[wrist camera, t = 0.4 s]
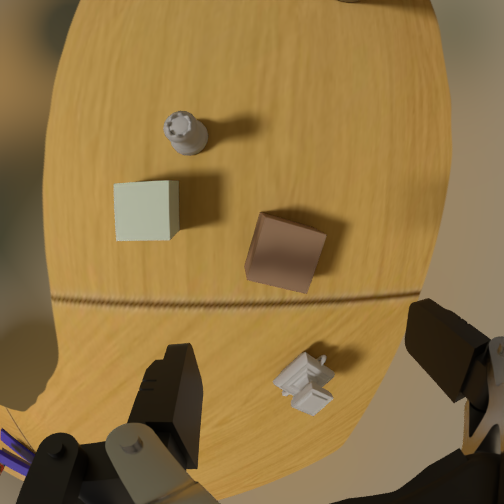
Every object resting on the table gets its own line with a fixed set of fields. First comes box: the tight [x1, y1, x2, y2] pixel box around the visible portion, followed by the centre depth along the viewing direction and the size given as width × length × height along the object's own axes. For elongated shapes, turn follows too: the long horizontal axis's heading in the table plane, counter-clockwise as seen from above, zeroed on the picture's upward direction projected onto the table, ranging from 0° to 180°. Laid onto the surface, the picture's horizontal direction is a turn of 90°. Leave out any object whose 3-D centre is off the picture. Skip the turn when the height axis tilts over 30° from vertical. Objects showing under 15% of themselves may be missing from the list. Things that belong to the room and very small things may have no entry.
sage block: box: [114, 180, 180, 241], centre depth 30 cm, size 6×6×6 cm
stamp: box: [273, 352, 335, 416], centre depth 36 cm, size 9×7×8 cm
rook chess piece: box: [164, 111, 208, 156], centre depth 27 cm, size 4×4×8 cm
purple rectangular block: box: [0, 428, 35, 476], centre depth 41 cm, size 12×28×10 cm, turn 51°
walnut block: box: [244, 212, 327, 294], centre depth 32 cm, size 7×7×5 cm
